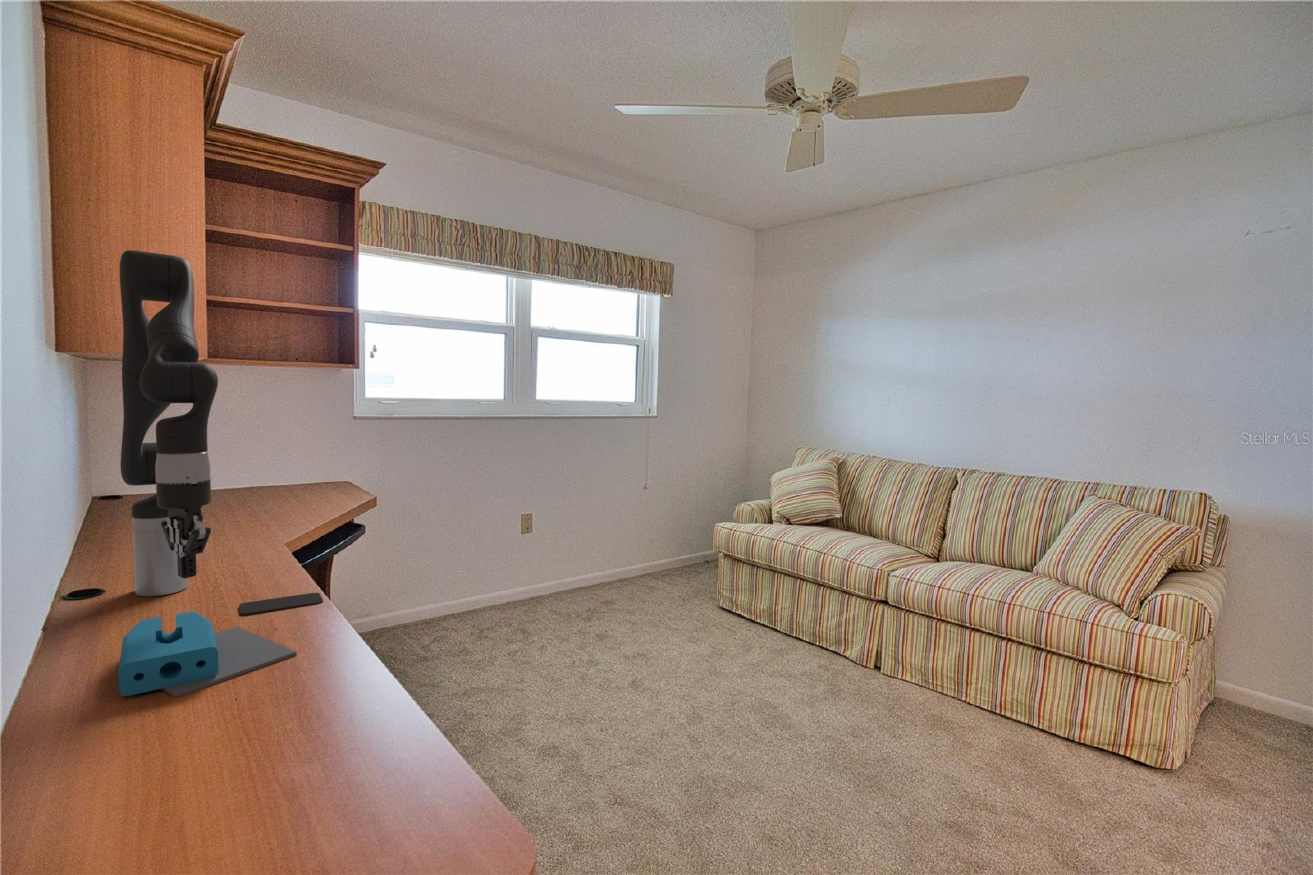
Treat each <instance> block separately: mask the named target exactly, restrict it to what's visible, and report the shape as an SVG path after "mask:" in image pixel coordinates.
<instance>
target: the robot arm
mask: <svg viewBox="0 0 1313 875" xmlns="http://www.w3.org/2000/svg"><path fill="white" fill-rule="evenodd" d="M194 282H195V281H194V274H193V270H192V267H191V265H190V263H189V262H188V261H187V259H186V258H183V257H181V256H177V255H172V254H171V255H170V254H163V253H159V252H158V253H156V252H149V251H142V250H132V249H130V250H125V251H124V252H122V254H121V257H120V260H119V287H120V299H121V301H120V302H121V310H122V311H121V312H122V328H123V330H122V331H123V332H122V334H123V335H122V337H123V338H122V341H123V342H122V357H121V358H122V360H121V361H122V362H121V364H122V365H121V384H122V385H121V387H122V388H121V390H122V407H123V424H122V435H121V436H122V438H121V449H120V465H119V466H120V475H121V478H122V480H123V482H124V483H125V484H127V485H128V486H152V485H153V486H155V489H156V490H155V492H156V493H155V494H154V495H151V496H149V497H147V498H143V499H141V500H138V501H136V502H134V503H133V504H132V505H131V522H132V523H131V524H132V547H133V569H134V593H135V595H136V596H140V597H158V596H165V595H166V596H167V595H171V594H174V593H178V592H181V591H183V590H185V589H187V588H188V582H189V581H188V579H189V578H193V577H195V576H197V556H198V554H202V553H204V550H205V548H206V545H207V543H208V540H209V538H210V535H211V531H212V529H211V527H210V526H205V527H204V516H203V512H202V507H204V506H207V505H209V504H211V502H212V486H211V485H212V484H211V482H212V481H211V463H210V458H209V452H208V424H209V422H208V421H209V418H210V413H211V408H212V405H213V403H214V399H215V396H216V393H217V390H218V386H219V377H218V375H217V372H216V370H215V369H214V367H212V366H211V365H210V364H207V363H203V362H198V361H199V358H200V352H199V347H198V343H197V337H196V332H195V327H194V326H195V324H194V321H195V288H194V287H195V284H194ZM143 301H149V302H160V303H168V304H167V305H166V306H163V307H162V309H160V310H159V311H158V312H157V313H155V314H154V315H153V317H151V318H150V319H149V317H148V316H147V314H146V312H145V310H144V307H143V304H142V303H143ZM171 404H192V407H191V409H190V410H189V411H188V412H187V413H185V414H184V413H183V414H181V415H177V416H176V415H175V416H170V417H166V418H162V419H159V420H158V421H157V422H156V424H155V442H144V439H145V437H146V435H147V432H148V431H149V429H150V427H151V426H152V425H153V423H154V422H155V421H156V420H157V419H158V417H160V416H161V414H163V413H164V412H165V411H166V409H168V408H169V406H170V405H171ZM143 442H144V443H143Z"/></svg>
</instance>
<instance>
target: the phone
mask: <svg viewBox="0 0 1313 875" xmlns="http://www.w3.org/2000/svg"><path fill="white" fill-rule="evenodd" d="M323 602H324V599H323V598H322V596H321V593H319V592H309V593H303V594H302V593H301V594H296V595H290V596H282V597H276V598H275V597H274V598H269V599H260V600H255V601H247V602H242V603H239V605H238V608H239V616H242V617H246V616H254V615H259V614H265V613H266V614H267V613H272V612H278V611H285V610H291V609H297V608H304V607H308V606H315V605H320V604H321V605H322V604H323Z"/></svg>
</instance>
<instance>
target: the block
mask: <svg viewBox="0 0 1313 875" xmlns="http://www.w3.org/2000/svg"><path fill="white" fill-rule="evenodd" d="M162 626H163V625H162V616H155V617H150V618H146V619H145V618H144V619H141V620H139V622H138V623H137V624H136V625H135V626H134V627H133V628H132V629H131V630H130V631H129V632H128V633H127V634H125V636H124V637H123V639H122V645H121V649H120V650H121V651H120V658H119V664H118V687H119V690H118V691H119V694H120V695H121V696H124V697H129V696H133V695H138V694H142V693H143V694H144V693H148V692H152V691H156V690H162V688H166V687H171V686H175V685H180V684H184V683H189V682H193V681H198V680H202V679H207V678H211V677H214V676H215V675H217V673H218V671H219V667H218V649H217V645H216V640H215V635H214V633H215V631H214V626H213V623H212V622H211V621H210V620H209V619H207V618H206V617H204V616H203V615H201V614H199V613H198V612H197V611H186V612H182V613H181V612H180V613H176V614H175V630H174V631H172V632H170V633H166V632H164V631H163V627H162Z"/></svg>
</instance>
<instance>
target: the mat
mask: <svg viewBox="0 0 1313 875" xmlns="http://www.w3.org/2000/svg"><path fill="white" fill-rule="evenodd" d="M214 635H215V640H216V645H217V649H218V667H219V671H218V673H217V675H215V676H214V677H211V678H207V679H202V680H198V681H193V682H189V683H184V684H180V685H175V686H171V687H166V688H162V689H161V690H162V691H164V692H166V693H167V694H169V695H171V696H173V697H174V698H178V697H182V696H186V695H188V694H190V693H193V692H196V691H199V690H202V689H204V688H208V687H211V686H212V685H215V684H218V683H219V684H220V683H221V682H224V681H226V680H227V681H228V680H231V679H233V678H236V677H238V676H240V675H244V674H247V673H250V672H252V671H255V670H257V669H260V668H264V667H266V666H269V665H273V664H275V663H278V662H280V661H284V660H287V659H289V658H292V657H294V656H297V655H298V654H297V650H294V649H291V648H289V647H286V646H284V645H282V644H279V643H277V642H275V641H272V640H270V639H268V638H265V637H263V636H260V635H259V634H256V633H254V632H251V631H248V629H247V630H246V629H244V628H242V627H239V626H235V627H231V628H228V629H224V630H221V631H218V632H214Z"/></svg>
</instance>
